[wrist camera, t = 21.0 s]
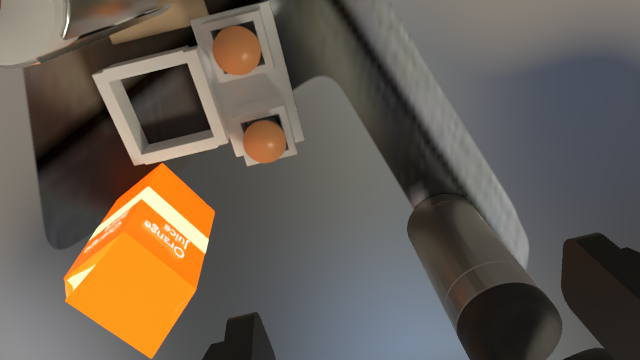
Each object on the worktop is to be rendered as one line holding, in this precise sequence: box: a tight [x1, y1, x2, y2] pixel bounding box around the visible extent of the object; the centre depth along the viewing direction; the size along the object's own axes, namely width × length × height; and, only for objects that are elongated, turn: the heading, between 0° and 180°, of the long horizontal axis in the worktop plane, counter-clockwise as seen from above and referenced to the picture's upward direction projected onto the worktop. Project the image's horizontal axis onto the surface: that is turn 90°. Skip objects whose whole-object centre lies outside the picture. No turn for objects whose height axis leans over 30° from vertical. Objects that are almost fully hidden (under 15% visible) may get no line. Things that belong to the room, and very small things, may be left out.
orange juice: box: [64, 163, 215, 359], centre depth 43 cm, size 8×9×20 cm
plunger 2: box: [243, 115, 286, 163], centre depth 44 cm, size 4×4×5 cm
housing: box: [92, 0, 305, 166], centre depth 44 cm, size 15×18×5 cm
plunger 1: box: [213, 26, 261, 75], centre depth 40 cm, size 4×4×5 cm
